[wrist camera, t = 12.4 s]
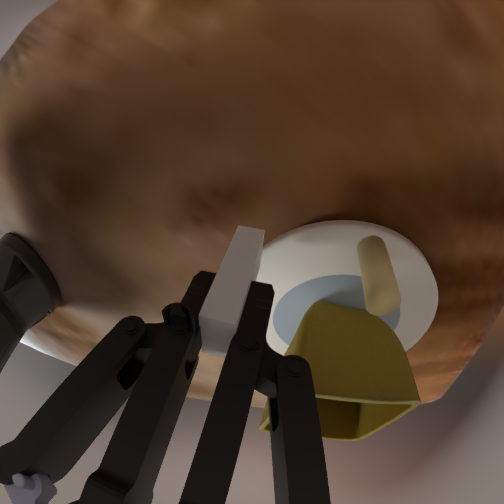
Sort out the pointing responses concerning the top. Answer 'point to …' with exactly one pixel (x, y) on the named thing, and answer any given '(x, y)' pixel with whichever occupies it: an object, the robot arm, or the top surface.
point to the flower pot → (352, 371)
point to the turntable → (348, 278)
